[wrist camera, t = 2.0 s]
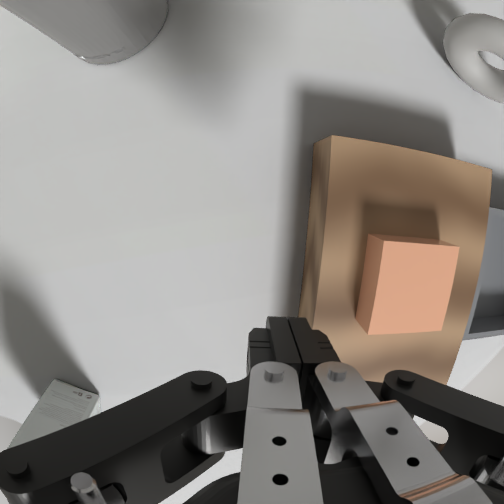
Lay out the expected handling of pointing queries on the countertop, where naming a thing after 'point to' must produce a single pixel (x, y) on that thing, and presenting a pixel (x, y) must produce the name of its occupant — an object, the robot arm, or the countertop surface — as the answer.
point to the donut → (476, 52)
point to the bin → (489, 284)
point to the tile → (405, 284)
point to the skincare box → (57, 411)
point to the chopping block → (397, 224)
